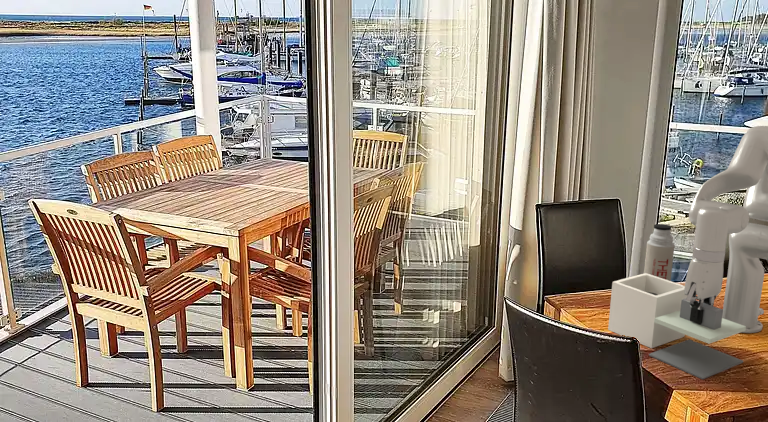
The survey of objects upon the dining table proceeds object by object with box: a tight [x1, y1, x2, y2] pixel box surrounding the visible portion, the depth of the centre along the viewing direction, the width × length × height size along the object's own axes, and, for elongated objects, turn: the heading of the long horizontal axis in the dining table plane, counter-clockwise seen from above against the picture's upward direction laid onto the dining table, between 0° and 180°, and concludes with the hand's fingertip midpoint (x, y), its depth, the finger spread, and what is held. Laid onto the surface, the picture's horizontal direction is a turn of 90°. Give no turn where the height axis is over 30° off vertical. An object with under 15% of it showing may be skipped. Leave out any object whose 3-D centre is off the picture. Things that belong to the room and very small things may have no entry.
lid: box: [654, 299, 746, 344], centre depth 182 cm, size 16×16×7 cm
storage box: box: [607, 272, 688, 349], centre depth 199 cm, size 15×15×15 cm
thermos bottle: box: [643, 223, 676, 282], centre depth 215 cm, size 8×8×28 cm
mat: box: [648, 338, 744, 380], centre depth 185 cm, size 18×16×1 cm
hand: (700, 320), depth 182 cm, fingers closed on lid, 3 cm apart
